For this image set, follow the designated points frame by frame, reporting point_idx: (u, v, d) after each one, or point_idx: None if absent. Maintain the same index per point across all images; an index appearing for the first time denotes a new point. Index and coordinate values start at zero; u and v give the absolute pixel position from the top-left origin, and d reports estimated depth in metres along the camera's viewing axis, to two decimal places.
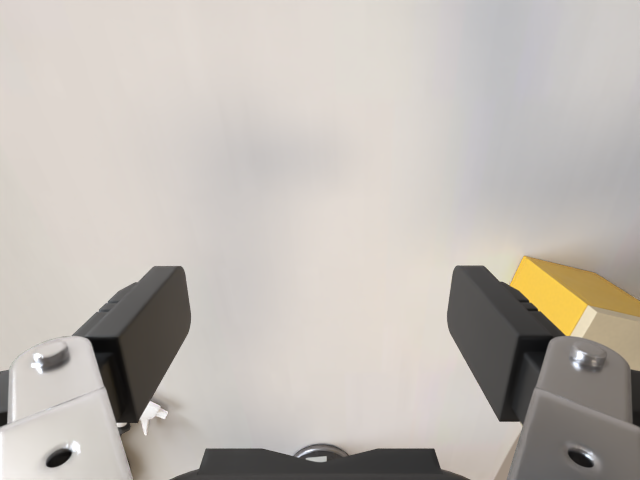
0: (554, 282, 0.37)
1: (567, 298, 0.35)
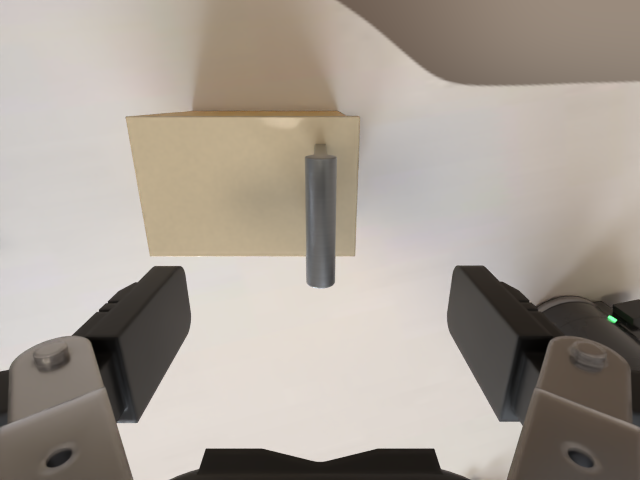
0: None
1: None
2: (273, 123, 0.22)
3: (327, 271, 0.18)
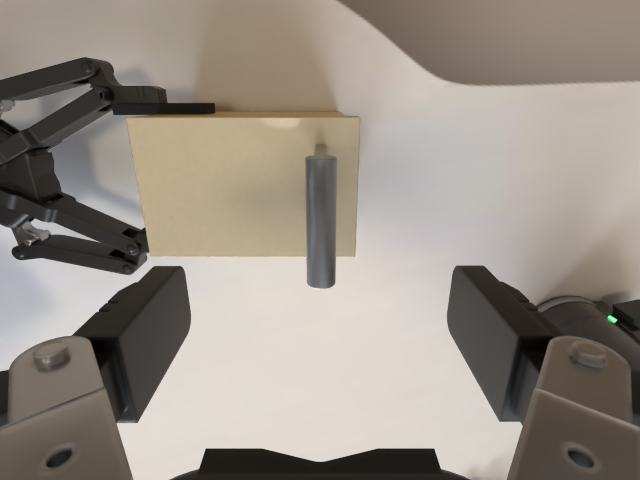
0: None
1: None
2: (273, 123, 0.22)
3: (327, 272, 0.18)
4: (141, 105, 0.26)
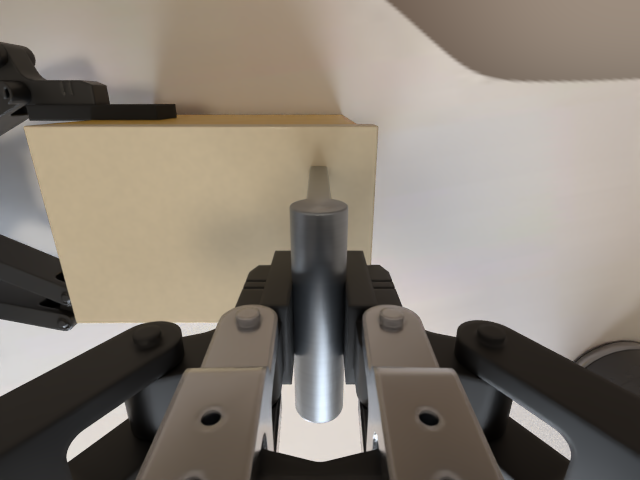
0: None
1: None
2: (247, 135, 0.15)
3: (330, 396, 0.10)
4: (67, 107, 0.19)
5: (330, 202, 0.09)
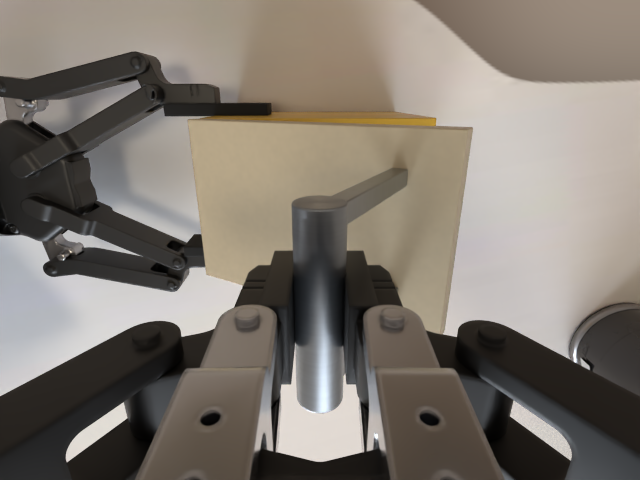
0: None
1: None
2: (336, 133, 0.16)
3: (319, 389, 0.11)
4: (196, 105, 0.23)
5: (333, 201, 0.09)
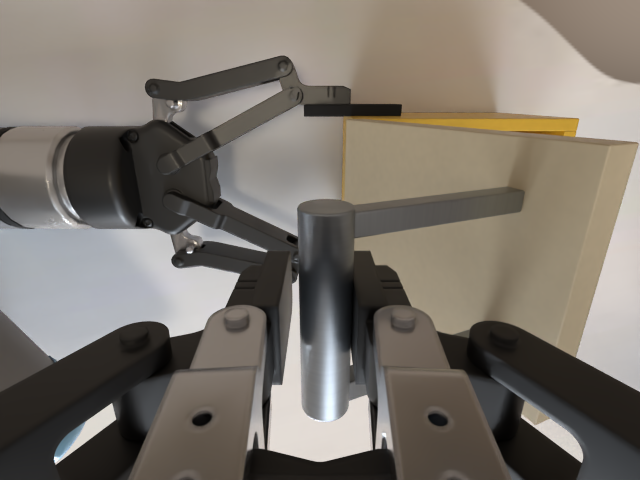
0: None
1: None
2: (456, 139, 0.14)
3: (310, 394, 0.10)
4: (335, 106, 0.25)
5: (339, 207, 0.09)
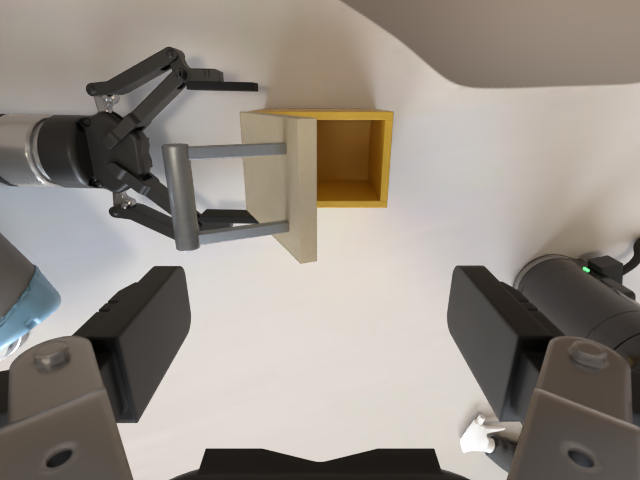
0: None
1: None
2: (270, 120, 0.25)
3: (177, 237, 0.22)
4: (207, 82, 0.36)
5: (179, 145, 0.21)
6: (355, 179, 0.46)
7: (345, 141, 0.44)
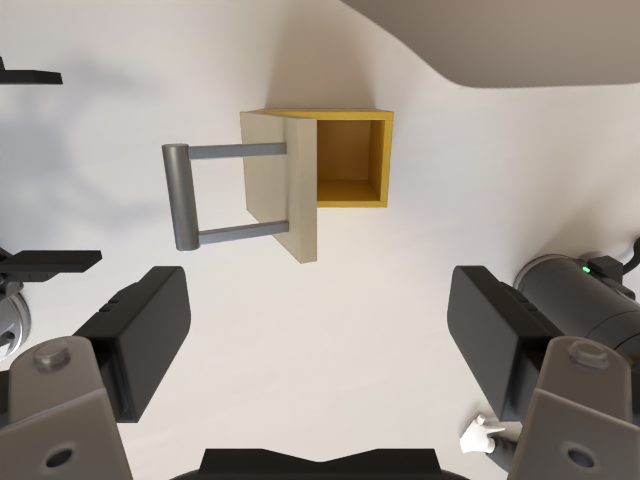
0: None
1: None
2: (270, 120, 0.25)
3: (177, 237, 0.22)
4: None
5: (179, 145, 0.21)
6: (355, 179, 0.46)
7: (345, 141, 0.44)
